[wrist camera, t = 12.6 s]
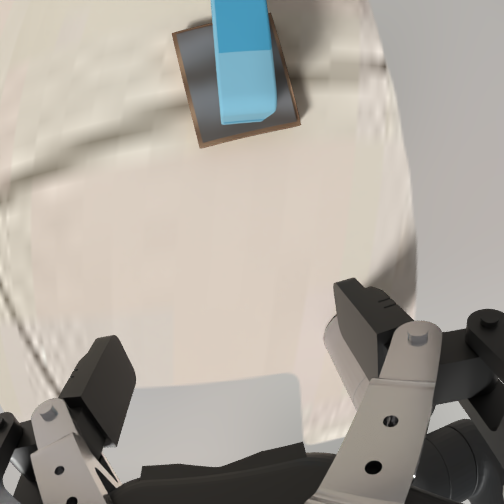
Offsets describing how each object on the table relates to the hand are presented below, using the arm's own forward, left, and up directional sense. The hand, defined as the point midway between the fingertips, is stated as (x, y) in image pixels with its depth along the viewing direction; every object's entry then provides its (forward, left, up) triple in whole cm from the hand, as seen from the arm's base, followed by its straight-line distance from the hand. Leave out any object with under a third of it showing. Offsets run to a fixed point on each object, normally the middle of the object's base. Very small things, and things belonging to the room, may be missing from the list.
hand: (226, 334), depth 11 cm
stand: (+14, -5, -32) cm, 35 cm away
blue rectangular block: (+14, -5, -28) cm, 32 cm away
